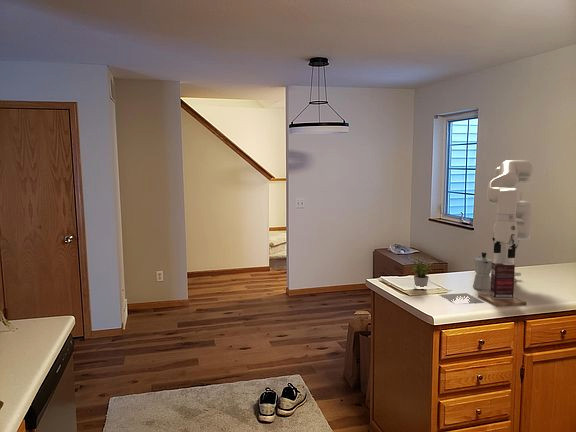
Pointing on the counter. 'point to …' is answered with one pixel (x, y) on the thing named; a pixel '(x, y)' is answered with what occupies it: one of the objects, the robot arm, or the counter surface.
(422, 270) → the house plant
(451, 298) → the plate
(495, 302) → the walnut board
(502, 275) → the supplement box
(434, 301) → the counter surface
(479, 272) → the coffee maker
